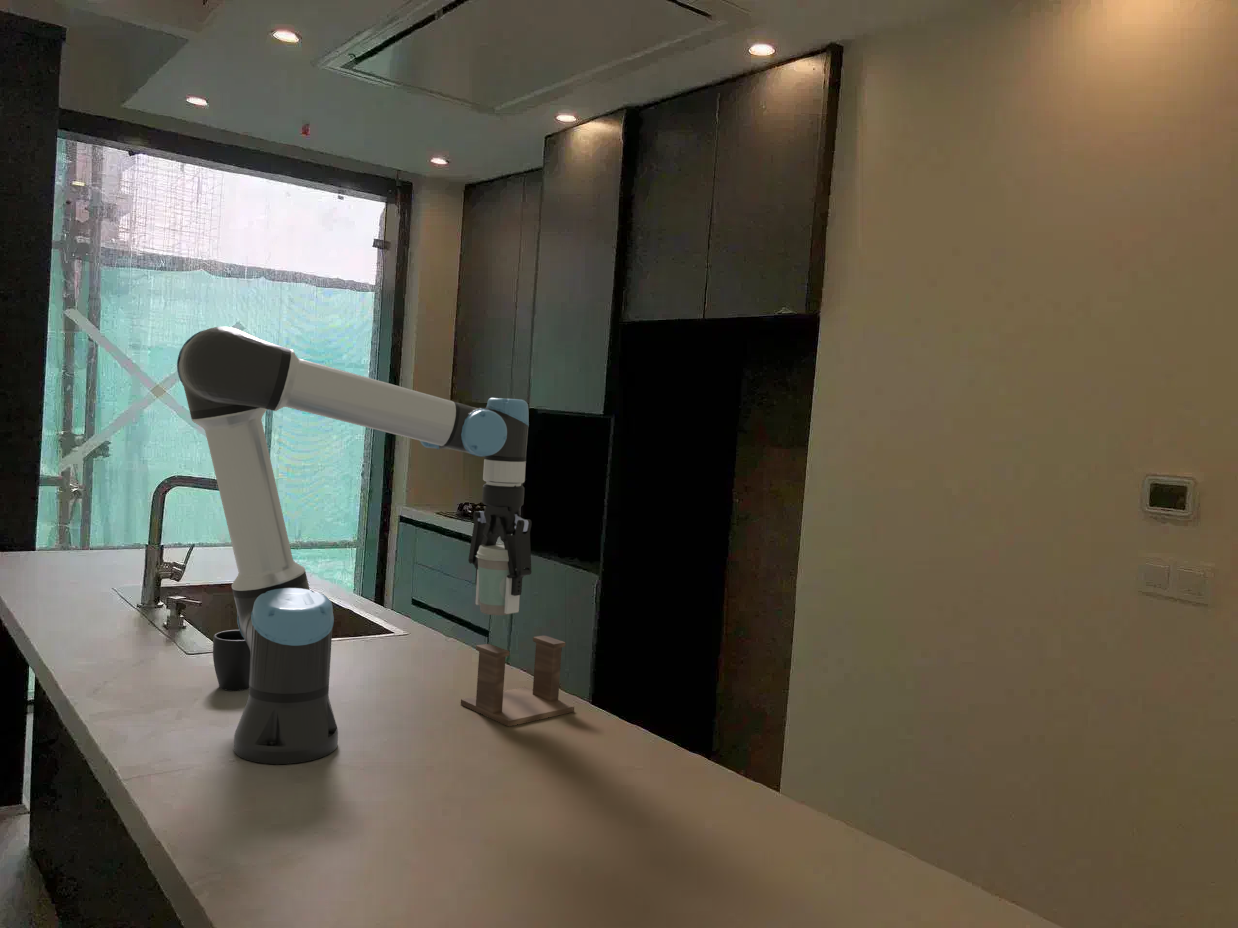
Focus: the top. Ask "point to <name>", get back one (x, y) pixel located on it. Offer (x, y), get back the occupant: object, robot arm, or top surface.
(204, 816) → the top surface
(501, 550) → the coffee cup
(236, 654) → the mug
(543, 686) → the wooden stand
